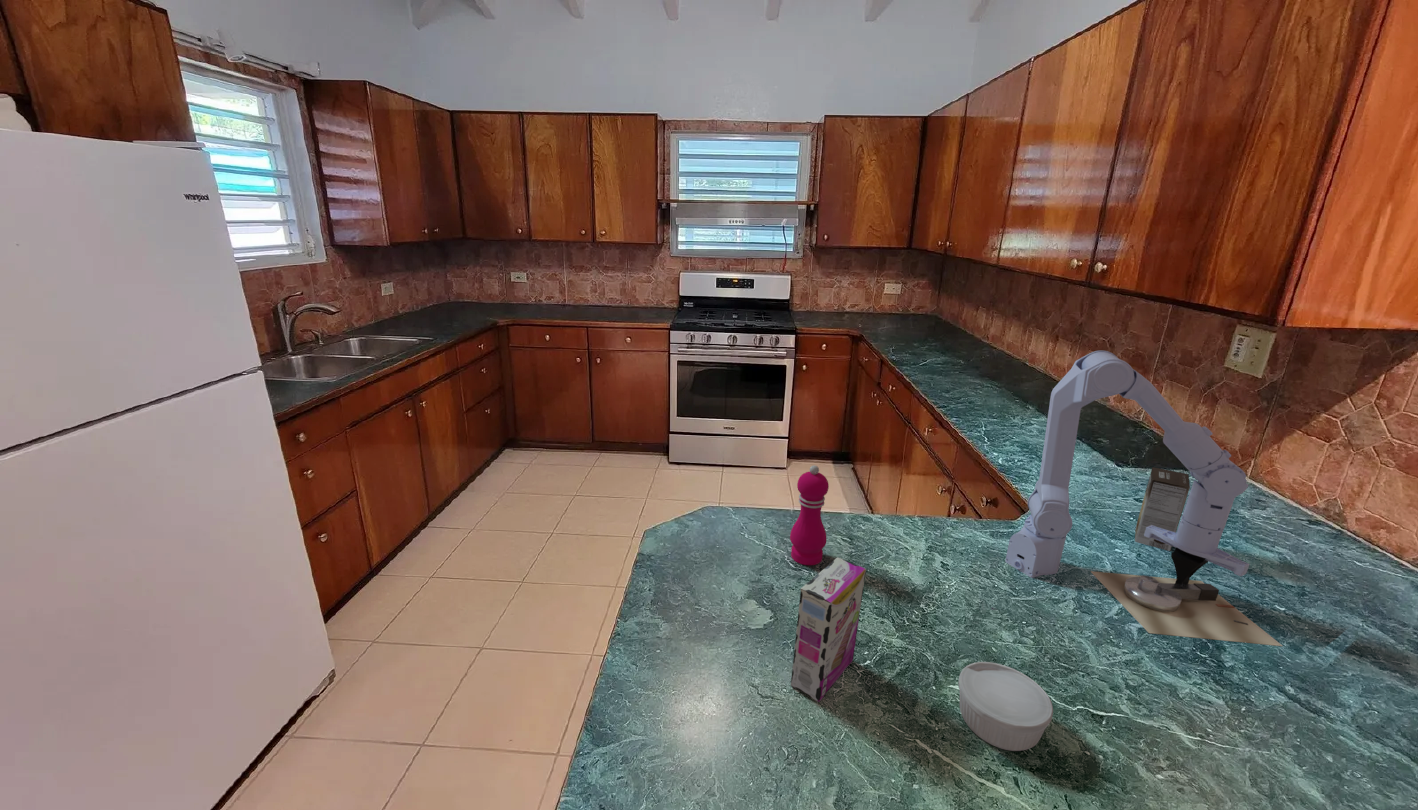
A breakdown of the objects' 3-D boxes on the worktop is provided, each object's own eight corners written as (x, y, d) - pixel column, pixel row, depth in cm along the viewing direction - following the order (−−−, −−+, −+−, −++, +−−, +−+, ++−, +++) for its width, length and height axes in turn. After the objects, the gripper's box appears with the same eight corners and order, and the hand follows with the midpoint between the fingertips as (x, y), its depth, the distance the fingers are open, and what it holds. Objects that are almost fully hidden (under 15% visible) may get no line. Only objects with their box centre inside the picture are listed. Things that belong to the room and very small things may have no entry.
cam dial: (1145, 611, 96) (1150, 592, 95) (1113, 583, 104) (1118, 566, 103) (1230, 613, 96) (1236, 595, 95) (1192, 586, 104) (1197, 568, 103)
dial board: (1147, 639, 92) (1149, 632, 91) (1089, 576, 109) (1090, 570, 108) (1280, 652, 89) (1283, 645, 89) (1199, 586, 107) (1201, 580, 106)
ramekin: (1015, 690, 80) (1022, 660, 79) (1065, 760, 69) (1074, 726, 68) (939, 690, 80) (944, 660, 78) (977, 760, 69) (985, 727, 68)
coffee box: (1133, 530, 127) (1151, 465, 123) (1169, 539, 124) (1188, 473, 119) (1132, 546, 120) (1151, 478, 116) (1170, 557, 117) (1191, 487, 112)
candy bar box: (820, 705, 76) (831, 603, 72) (789, 687, 79) (797, 588, 75) (855, 661, 85) (867, 567, 80) (826, 646, 88) (836, 554, 83)
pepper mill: (824, 569, 108) (834, 475, 103) (787, 564, 110) (794, 470, 104) (824, 550, 115) (833, 460, 109) (789, 545, 116) (796, 457, 111)
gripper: (1266, 537, 94) (1240, 605, 97) (1166, 500, 106) (1146, 563, 110) (1248, 546, 90) (1222, 616, 94) (1147, 507, 102) (1127, 571, 106)
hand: (1180, 588), depth 102 cm, fingers closed, pressing on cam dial
